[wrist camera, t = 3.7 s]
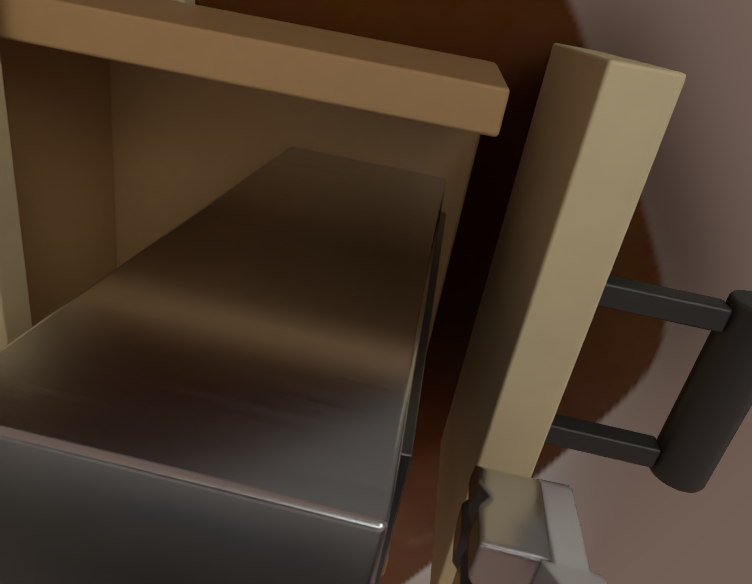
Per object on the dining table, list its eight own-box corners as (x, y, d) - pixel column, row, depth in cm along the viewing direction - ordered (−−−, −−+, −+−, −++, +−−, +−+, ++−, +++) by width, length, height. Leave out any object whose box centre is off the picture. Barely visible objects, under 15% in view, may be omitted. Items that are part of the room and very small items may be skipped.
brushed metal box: (452, 178, 16) (406, 533, 5) (410, 361, 18) (320, 850, 8) (290, 145, 16) (-93, 408, 5) (272, 330, 18) (-6, 757, 8)
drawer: (795, 88, 14) (1031, 138, 8) (609, 480, 20) (667, 677, 14) (101, -43, 16) (-138, -83, 9) (118, 364, 22) (-22, 500, 15)
